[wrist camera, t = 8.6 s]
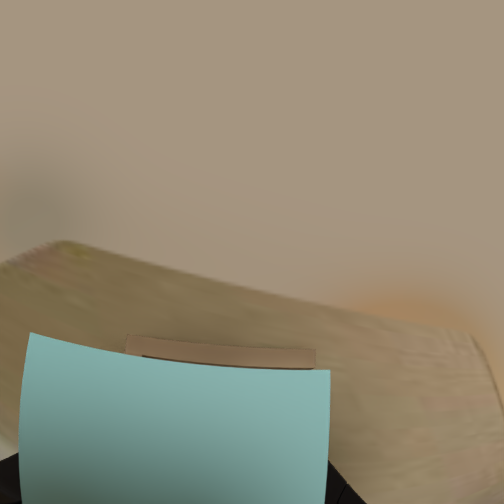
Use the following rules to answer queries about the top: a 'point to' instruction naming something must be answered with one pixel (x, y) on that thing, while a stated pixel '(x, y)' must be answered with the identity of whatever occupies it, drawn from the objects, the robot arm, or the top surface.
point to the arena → (221, 354)
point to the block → (168, 430)
